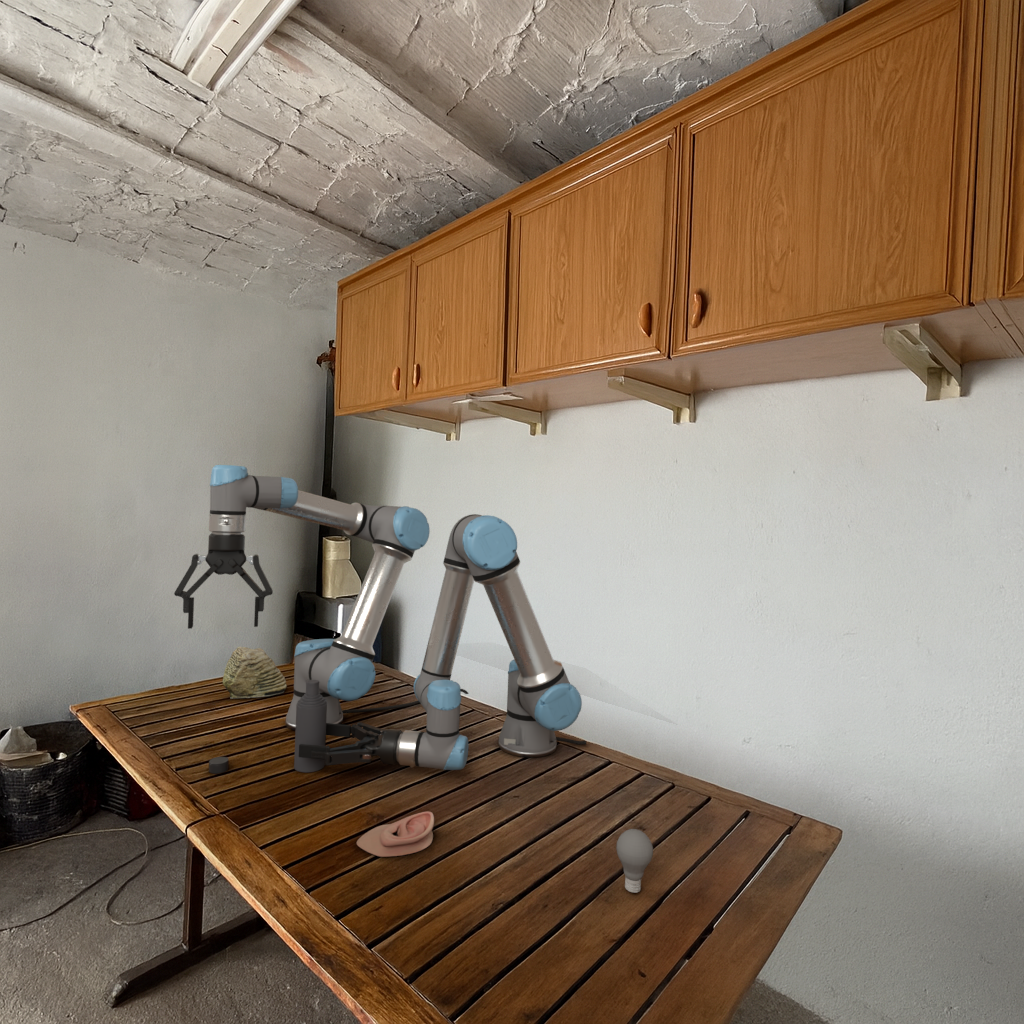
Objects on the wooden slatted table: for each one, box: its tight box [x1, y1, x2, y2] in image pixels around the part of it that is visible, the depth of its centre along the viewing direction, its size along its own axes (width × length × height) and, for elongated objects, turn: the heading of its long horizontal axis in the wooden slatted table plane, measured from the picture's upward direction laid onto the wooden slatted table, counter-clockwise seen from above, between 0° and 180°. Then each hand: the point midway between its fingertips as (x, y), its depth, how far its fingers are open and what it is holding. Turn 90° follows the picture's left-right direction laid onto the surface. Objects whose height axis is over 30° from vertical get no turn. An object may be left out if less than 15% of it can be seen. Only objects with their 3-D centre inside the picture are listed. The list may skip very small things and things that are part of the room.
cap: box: [208, 756, 230, 775], centre depth 144 cm, size 4×4×2 cm
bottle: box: [293, 680, 327, 773], centre depth 148 cm, size 7×7×20 cm
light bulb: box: [615, 828, 654, 894], centre depth 106 cm, size 6×6×10 cm
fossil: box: [222, 646, 288, 699], centre depth 198 cm, size 9×18×15 cm, turn 132°
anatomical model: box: [356, 811, 435, 858], centre depth 118 cm, size 13×4×12 cm
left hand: (223, 626), depth 144 cm, fingers open, 13 cm apart
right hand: (312, 739), depth 148 cm, fingers open, 13 cm apart
